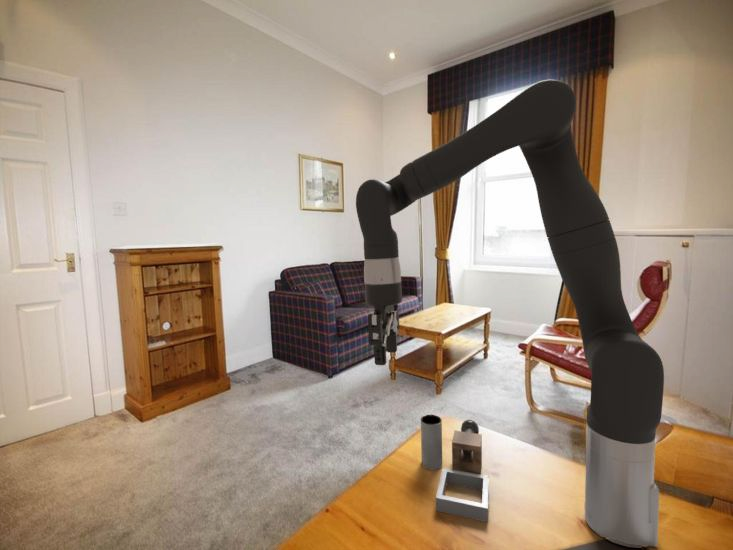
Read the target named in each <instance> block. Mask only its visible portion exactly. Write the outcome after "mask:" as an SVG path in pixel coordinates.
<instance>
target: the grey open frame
mask: <svg viewBox="0 0 733 550" xmlns="http://www.w3.org/2000/svg"><path fill="white" fill-rule="evenodd" d="M489 482H490V476H489V475H483V474H481V475H479V474H474V473H468V472H463V471H457V470H452V469H450V468H446V467H442V469H441V474H440V479H439V482H438V486H437V490H436V495H435V510H436V511H437V512H441V513H445V514H450V515H455V516H458V517H459V516H460V517H464V518H468V519H472V520H473V519H474V520H476V521H477V520H478V521H481V522H486V523H488V522H489V496H490V495H489V494H490V483H489ZM448 484H450V485H455V486H458V487H459V486H460V487H464V488H469V489H475V490H479V491H482V496H481V497H482V498H481V502H478V501H477V502H476V501H472V500H468V499H463V498H457V497H454V496H450V495H449V496H448V495H446V493H447V486H448Z"/></svg>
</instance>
